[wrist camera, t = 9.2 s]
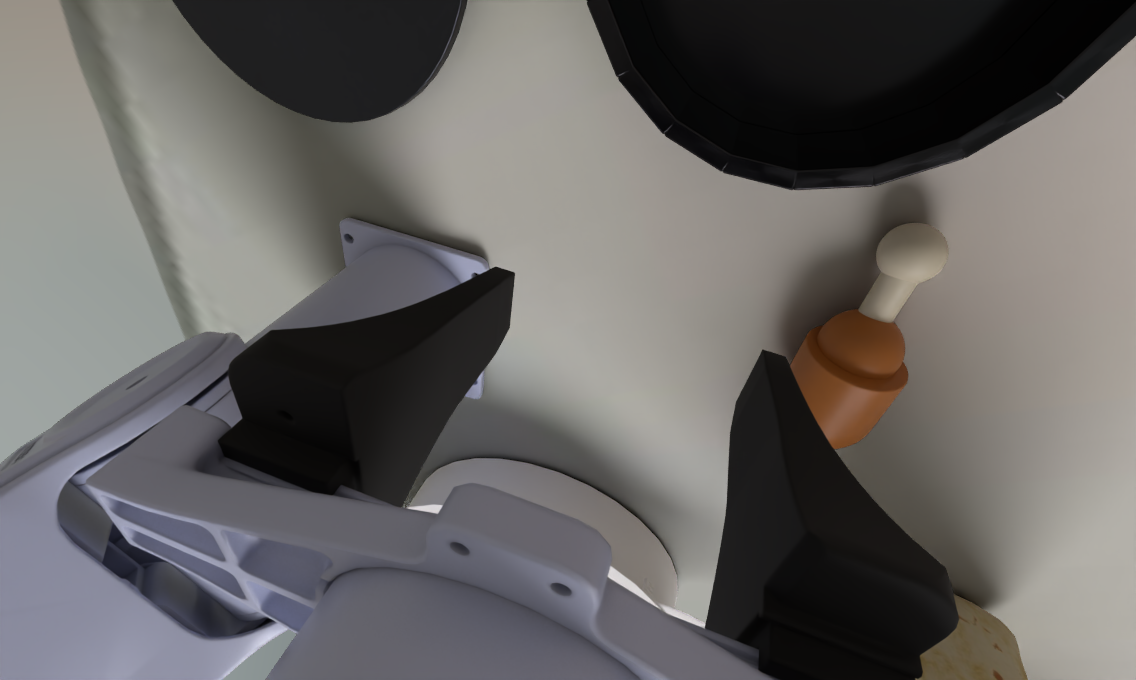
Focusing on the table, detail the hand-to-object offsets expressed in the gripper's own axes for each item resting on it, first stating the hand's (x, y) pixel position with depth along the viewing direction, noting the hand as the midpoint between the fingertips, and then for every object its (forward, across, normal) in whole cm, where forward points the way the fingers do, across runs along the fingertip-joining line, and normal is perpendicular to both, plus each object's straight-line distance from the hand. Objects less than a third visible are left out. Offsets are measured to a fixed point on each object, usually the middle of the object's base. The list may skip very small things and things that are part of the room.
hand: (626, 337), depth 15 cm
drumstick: (+8, -8, +2) cm, 12 cm away
